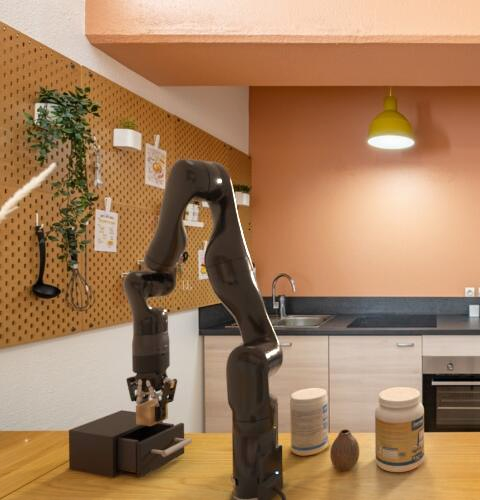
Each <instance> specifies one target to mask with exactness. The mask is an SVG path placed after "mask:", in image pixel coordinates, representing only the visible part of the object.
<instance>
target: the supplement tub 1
mask: <svg viewBox="0 0 480 500" xmlns="http://www.w3.org/2000/svg"><path fill="white" fill-rule="evenodd" d="M289 410H290V411H289V418H290V423H289V424H290V425H289V426H290V450H291V452H292V453H293V454H295V455H296V456H302V457H303V456H304V457H305V456H312V455H316V454H319V453H320V452H322V451H324V450H325V449H326V448H327V447H328V444H329V417H328V416H329V415H328V394H327V390H325V388H321V387H309V388H308V387H307V388H303V389H298V390H295V391H294V392H292V393H291V395H290V401H289Z"/></svg>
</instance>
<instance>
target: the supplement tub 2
mask: <svg viewBox="0 0 480 500" xmlns="http://www.w3.org/2000/svg"><path fill="white" fill-rule="evenodd" d="M421 400H422V397H421V391H419V390H418V389H416V388H413V387H408V386H407V387H405V386H399V387H391V388H387V389H384V390H382V391H380V392H379V394H378V401H377V402H378V404H377V406H376V407H375V411H374V416H375V417H374V423H375V424H374V427H375V429H374V430H375V431H374V434H375V435H374V436H375V437H374V438H375V439H374V440H375V441H374V442H375V443H374V444H375V463H376V464H377V466H378V467H379V468H381V469H382V470H385V471H387V472H390V473H404V472H409V471H412V470H415V469H417V468H418V467H420V466H421V464H422V463H423V461H424V459H425V408H424V405H423V404H422V402H421Z"/></svg>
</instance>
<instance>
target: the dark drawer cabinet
mask: <svg viewBox="0 0 480 500" xmlns="http://www.w3.org/2000/svg"><path fill="white" fill-rule="evenodd" d="M161 422H162V423H164V422H163V421H161ZM144 426H145V425H138V424H136V411H130V410H123V409H121V410H118V411H116V412H112V413H111V414H108V415H105V416H103V417H99V418H97V419H94V420H91V421H88V422H86V423H84V424H81V425H79V426H76V427H73V428H71V429H68V469H69V470H72V471H77V472H83V473H88V474H93V475H97V476H102V477H109V478H115V477H117V476H120V475H121V474H124V473H125V472H126V471H123V470H118V469H116V439H117V438H119V437H121V436H124V435H126V434H128V433H131V432H133V431H135V430H138V429H140V428H142V427H144Z"/></svg>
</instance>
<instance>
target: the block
mask: <svg viewBox="0 0 480 500" xmlns="http://www.w3.org/2000/svg"><path fill="white" fill-rule="evenodd" d="M159 400H160V401H161V398H159ZM155 407H156V406H155V403H154V399H153V398H151V399H149V401H147V402H144V403H141V404H139V405H137V404H136V405H135V412H136V424H138V425H145V426H152V425H154V424H157V423H159V422H156V421H155ZM168 419H169V403H167V404H166V417H165V419H164V420H162V421H165V420H168ZM160 422H161V421H160Z"/></svg>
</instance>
